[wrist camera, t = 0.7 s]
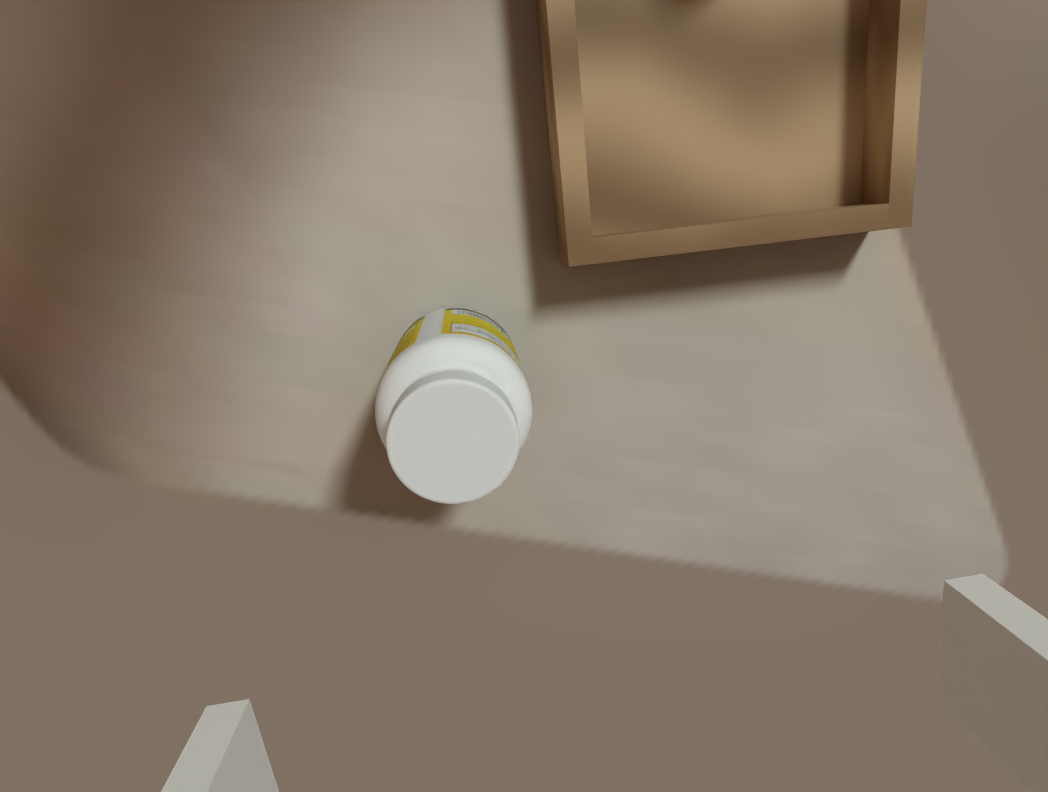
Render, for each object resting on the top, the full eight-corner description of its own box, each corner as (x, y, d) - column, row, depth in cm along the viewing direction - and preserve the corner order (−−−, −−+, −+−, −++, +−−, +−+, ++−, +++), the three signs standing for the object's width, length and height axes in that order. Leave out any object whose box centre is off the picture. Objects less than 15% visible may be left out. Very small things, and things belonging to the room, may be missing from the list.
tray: (519, -192, 22) (525, -241, 20) (895, -222, 23) (945, -273, 21) (560, 262, 27) (568, 267, 25) (873, 225, 28) (911, 226, 25)
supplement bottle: (417, 437, 29) (391, 546, 19) (378, 324, 27) (331, 382, 18) (531, 405, 29) (561, 498, 19) (499, 290, 27) (515, 330, 18)
